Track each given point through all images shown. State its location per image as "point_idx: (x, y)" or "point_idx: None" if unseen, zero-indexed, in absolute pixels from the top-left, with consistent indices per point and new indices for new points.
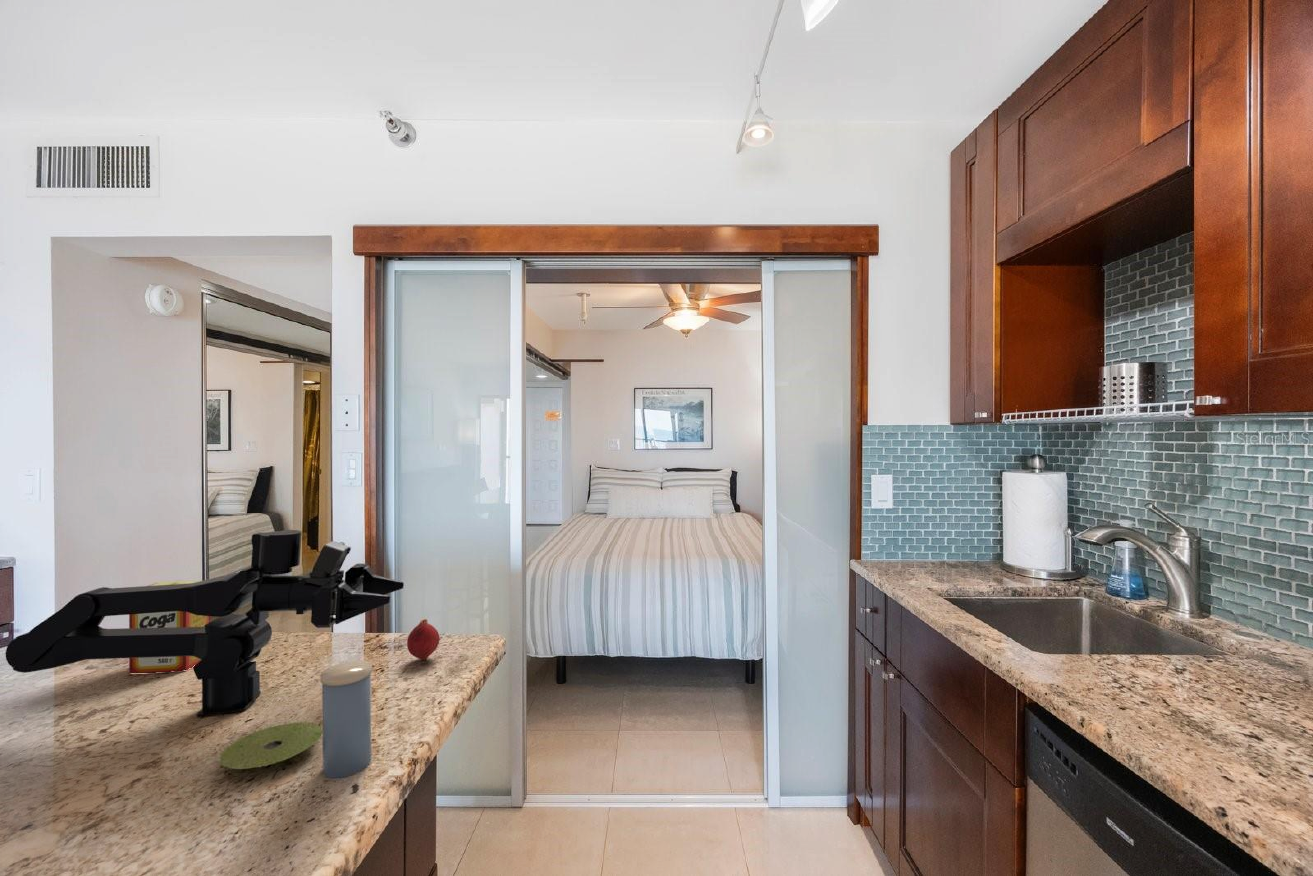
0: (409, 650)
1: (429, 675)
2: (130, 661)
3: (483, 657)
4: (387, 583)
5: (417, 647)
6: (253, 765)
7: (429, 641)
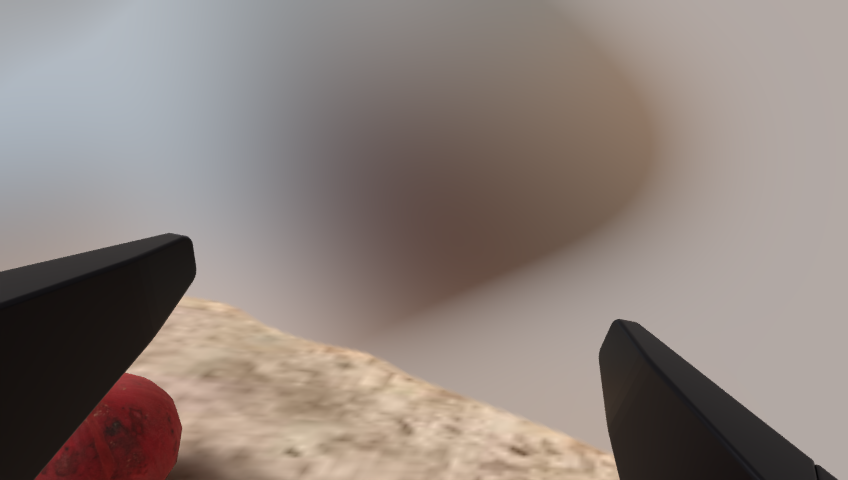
0: None
1: (304, 472)
2: None
3: (268, 330)
4: (70, 319)
5: (160, 473)
6: None
7: (176, 416)
